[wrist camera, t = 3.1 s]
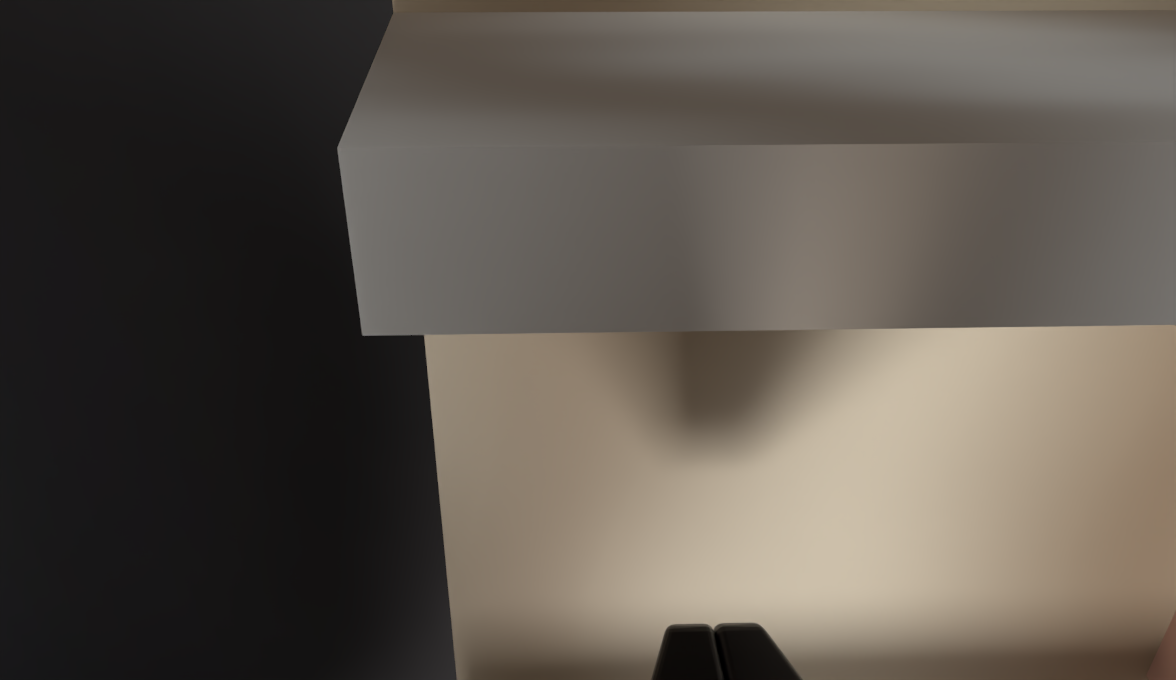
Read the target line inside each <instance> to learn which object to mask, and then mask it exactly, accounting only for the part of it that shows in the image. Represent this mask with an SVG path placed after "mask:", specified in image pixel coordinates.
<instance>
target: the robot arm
mask: <svg viewBox="0 0 1176 680" xmlns="http://www.w3.org/2000/svg"><path fill="white" fill-rule="evenodd" d="M651 680H803V679H802V677H801V676H800V675H799V673H798V672H797V671H796V670H795V668H794V667H793V666H792V664H791V663H790V662H789V660H788V659H787V658H786V656H785V655H784V654H783V652H782V651H781V650H780V648H779V647H778V646H777V644H776V643H775V642H774V640H773V639H772V638H771V636H770V635H769V634H768V633H767V631H766V630H765V629H764V628H763V627H762V626H761V625H759V624H757V623H752V622H747V623H720V624H718V625H716V626H715V627H714V629H712V627H711V626H710V625H708V624H704V623H702V624H672V625H670V626H668V627H667V628H666V630H665V633H664V636H663V639H662V643H661V646H660V650H659V653H658V657H657V660H656V664H655V667H654V671H653V674H652V678H651Z"/></svg>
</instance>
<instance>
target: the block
mask: <svg viewBox="0 0 1176 680" xmlns="http://www.w3.org/2000/svg"><path fill="white" fill-rule="evenodd" d="M1146 676H1147V677H1148V679H1149V680H1176V611H1175V614H1174V616H1173V618H1172V620H1171V622H1170V625H1169V627H1168V629H1167V631H1166V633H1165V635H1164V638H1163V640H1162V642H1161V644H1160V646H1159V648H1158V651H1157V653H1156V655H1155V657H1154V659H1153V662H1152V664H1151V666H1150V668H1149V670H1148V672H1147V675H1146Z"/></svg>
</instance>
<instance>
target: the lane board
mask: <svg viewBox="0 0 1176 680" xmlns="http://www.w3.org/2000/svg"><path fill="white" fill-rule="evenodd" d="M392 3H393V15H392V17H391V20H390V22H389V24H388V27H387V29H386V32H385V34H384V36H383V39H382V41H381V44H380V46H379V48H378V51H377V53H376V56H375V58H374V61H373V63H372V65H371V68H370V70H369V73H368V75H367V77H366V80H365V82H364V85H363V87H362V89H361V92H360V94H359V97H358V99H357V101H356V104H355V106H354V109H353V111H352V113H351V116H350V118H349V121H348V123H347V126H346V128H345V130H344V133H343V135H342V138H341V140H340V142H339V145H338V147H337V151H338V158H339V165H340V173H341V180H342V188H343V195H344V203H345V210H346V218H347V225H348V233H349V240H350V247H351V255H352V262H353V270H354V277H355V285H356V292H357V300H358V307H359V315H360V322H361V329H362V336H378V335H424V339H425V350H426V360H427V371H428V381H429V392H430V402H431V413H432V423H433V434H434V444H435V455H436V465H437V476H438V486H439V497H440V507H441V518H442V528H443V539H444V549H445V560H446V571H447V581H448V592H449V602H450V613H451V623H452V634H453V644H454V655H455V665H456V676H457V680H651V678H652V674H653V671H654V667H655V664H656V660H657V657H658V653H659V650H660V646H661V643H662V639H663V636H664V633H665V630H666V628H667V627H668V626H670V625H672V624H702V623H704V624H708V625H710V626H711V627H712V629H714V627H715V626H716V625H718V624H720V623H747V622H752V623H757V624H759V625H761V626H762V627H763V628H764V629H765V630H766V631H767V633H768V634H769V635H770V636H771V638H772V639H773V640H774V642H775V643H776V644H777V646H778V647H779V648H780V650H781V651H782V652H783V654H784V655H785V656H786V658H787V659H788V660H789V662H790V663H791V664H792V666H793V667H794V668H795V670H796V671H797V672H798V673H799V675H800V676H801V677H802V679H803V680H1149V679H1148V677H1147V676H1146V675H1147V672H1148V670H1149V668H1150V666H1151V664H1152V662H1153V659H1154V657H1155V655H1156V653H1157V651H1158V648H1159V646H1160V644H1161V642H1162V640H1163V638H1164V635H1165V633H1166V631H1167V629H1168V627H1169V625H1170V622H1171V620H1172V618H1173V616H1174V614H1175V611H1176V0H392Z"/></svg>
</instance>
